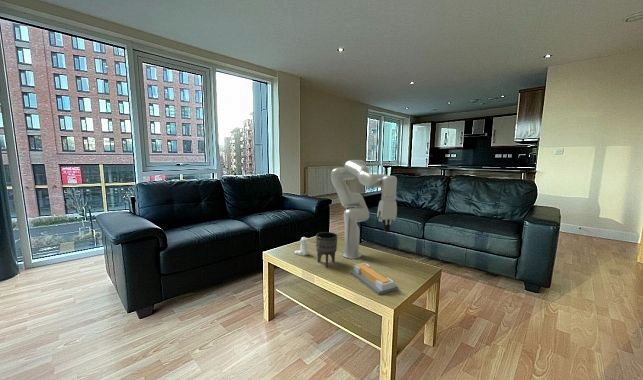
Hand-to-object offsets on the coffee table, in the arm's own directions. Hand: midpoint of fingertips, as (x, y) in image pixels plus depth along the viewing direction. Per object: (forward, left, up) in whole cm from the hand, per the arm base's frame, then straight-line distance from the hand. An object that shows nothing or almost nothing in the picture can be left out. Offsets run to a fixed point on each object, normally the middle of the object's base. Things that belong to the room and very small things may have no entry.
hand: (386, 231), depth 142 cm
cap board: (+6, -12, -24) cm, 27 cm away
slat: (+6, -13, -22) cm, 27 cm away
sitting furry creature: (-44, -31, -24) cm, 59 cm away
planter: (-24, -24, -24) cm, 42 cm away
